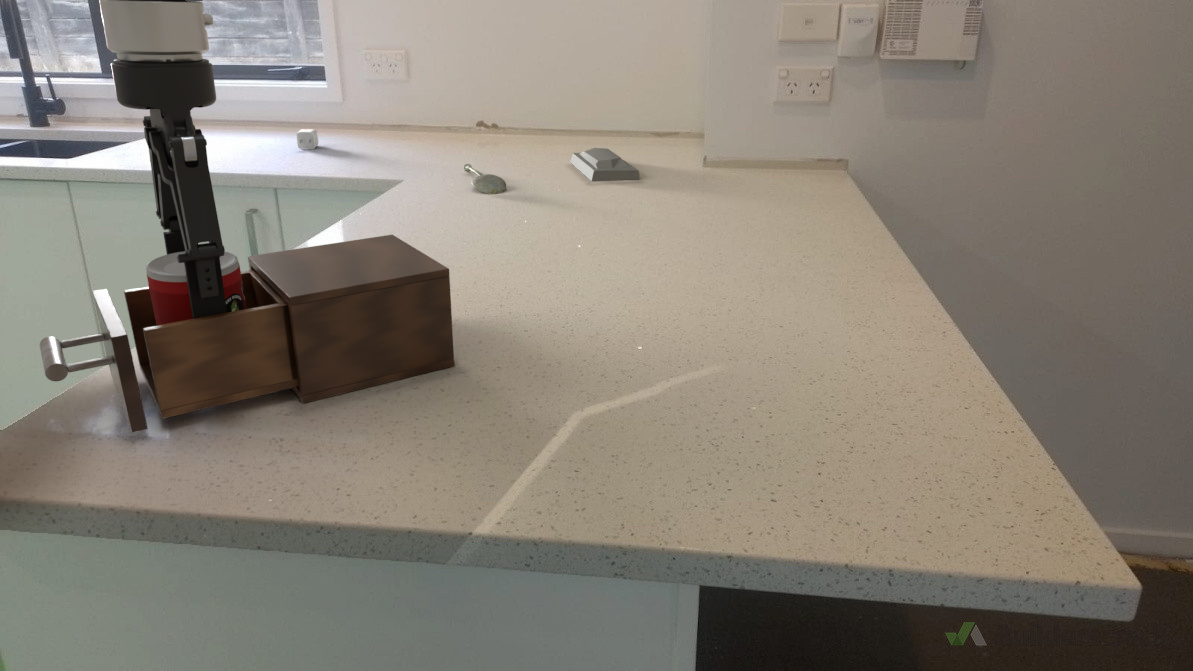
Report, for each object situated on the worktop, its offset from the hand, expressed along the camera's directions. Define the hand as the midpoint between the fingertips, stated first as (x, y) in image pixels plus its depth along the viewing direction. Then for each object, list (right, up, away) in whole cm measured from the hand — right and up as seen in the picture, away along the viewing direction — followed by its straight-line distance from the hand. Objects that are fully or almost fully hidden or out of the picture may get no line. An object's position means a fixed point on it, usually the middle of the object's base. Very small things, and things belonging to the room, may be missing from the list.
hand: (200, 311), depth 78 cm
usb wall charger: (-32, +42, +122) cm, 133 cm away
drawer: (-3, -7, +1) cm, 8 cm away
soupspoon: (+13, +28, +91) cm, 96 cm away
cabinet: (+11, -5, +11) cm, 16 cm away
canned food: (0, -6, +2) cm, 6 cm away
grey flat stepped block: (+38, +33, +103) cm, 115 cm away
